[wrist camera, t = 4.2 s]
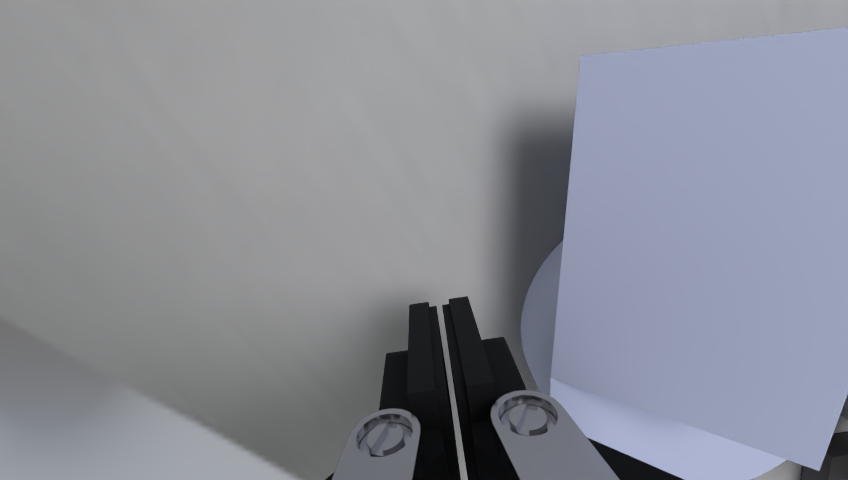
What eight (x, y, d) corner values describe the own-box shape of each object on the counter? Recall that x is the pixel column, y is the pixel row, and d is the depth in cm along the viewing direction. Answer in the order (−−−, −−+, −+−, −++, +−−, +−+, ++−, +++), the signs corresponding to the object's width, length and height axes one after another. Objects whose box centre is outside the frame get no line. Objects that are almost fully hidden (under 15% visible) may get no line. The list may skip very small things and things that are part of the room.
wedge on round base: (537, 75, 12) (513, 423, 16) (673, 14, 6) (582, 628, 9) (819, 74, 12) (734, 419, 16) (1257, 14, 6) (952, 616, 9)
